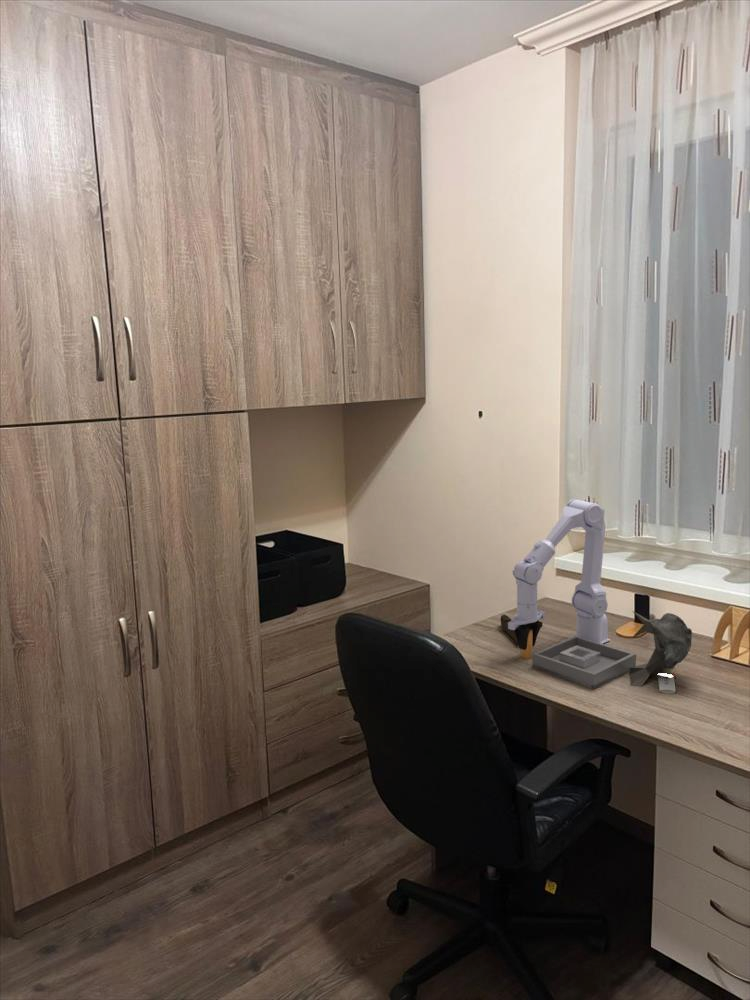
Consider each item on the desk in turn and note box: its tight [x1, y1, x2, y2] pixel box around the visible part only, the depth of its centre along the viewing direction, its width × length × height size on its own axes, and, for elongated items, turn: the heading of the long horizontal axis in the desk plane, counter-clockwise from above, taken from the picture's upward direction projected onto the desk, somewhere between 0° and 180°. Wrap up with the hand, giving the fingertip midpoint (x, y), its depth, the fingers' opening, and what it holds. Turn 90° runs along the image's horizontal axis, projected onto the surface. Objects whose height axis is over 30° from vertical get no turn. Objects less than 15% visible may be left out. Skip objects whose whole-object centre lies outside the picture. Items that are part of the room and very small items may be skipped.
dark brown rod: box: [500, 614, 519, 647], centre depth 236 cm, size 19×4×5 cm, turn 8°
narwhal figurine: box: [629, 610, 693, 687], centre depth 201 cm, size 14×15×18 cm
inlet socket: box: [560, 645, 601, 669], centre depth 212 cm, size 8×8×2 cm
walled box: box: [532, 635, 637, 690], centre depth 210 cm, size 20×20×4 cm
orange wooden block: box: [520, 630, 534, 660], centre depth 219 cm, size 3×3×8 cm
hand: (526, 647), depth 219 cm, fingers closed on orange wooden block, 3 cm apart
